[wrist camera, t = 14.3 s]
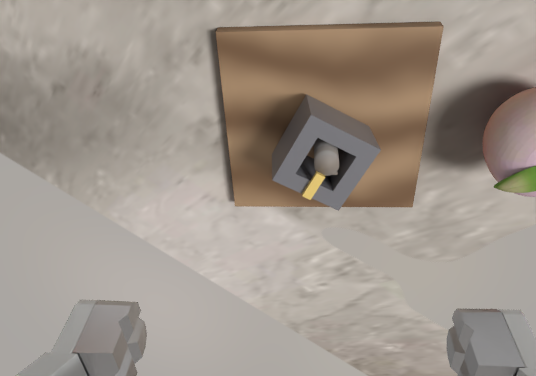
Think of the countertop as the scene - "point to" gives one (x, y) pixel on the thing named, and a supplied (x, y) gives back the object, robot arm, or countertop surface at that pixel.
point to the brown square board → (328, 102)
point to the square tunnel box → (333, 132)
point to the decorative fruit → (513, 144)
